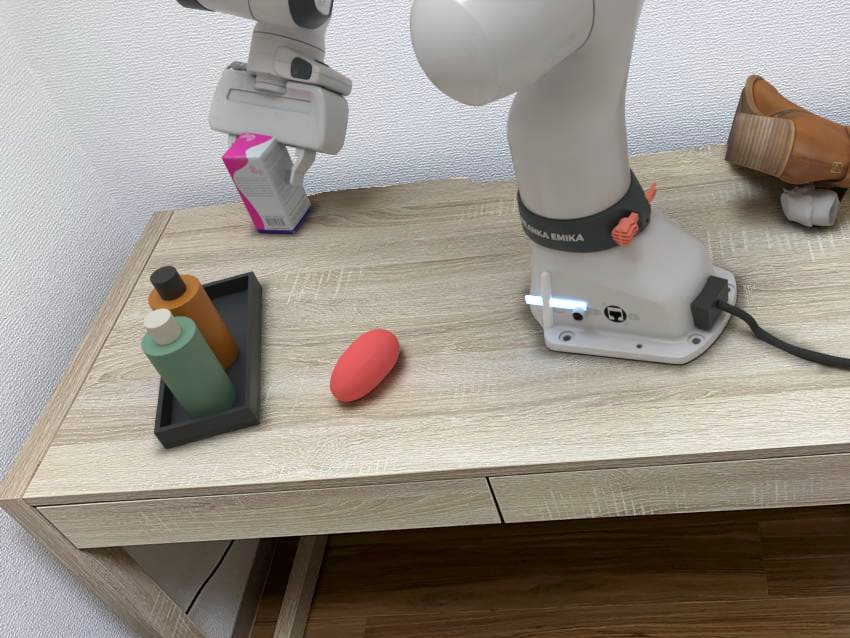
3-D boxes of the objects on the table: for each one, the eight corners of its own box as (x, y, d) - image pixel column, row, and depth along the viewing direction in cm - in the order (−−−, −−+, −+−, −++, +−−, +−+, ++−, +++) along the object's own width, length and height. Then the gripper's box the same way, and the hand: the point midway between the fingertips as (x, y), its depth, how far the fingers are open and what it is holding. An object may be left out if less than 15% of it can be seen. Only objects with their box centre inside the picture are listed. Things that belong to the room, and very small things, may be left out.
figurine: (847, 220, 101) (817, 240, 99) (791, 196, 106) (761, 215, 104) (849, 190, 98) (818, 210, 96) (791, 167, 103) (761, 186, 101)
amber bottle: (248, 347, 103) (200, 262, 94) (215, 381, 100) (162, 297, 91) (214, 335, 105) (163, 252, 96) (180, 368, 103) (125, 286, 93)
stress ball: (424, 378, 97) (408, 322, 95) (353, 408, 91) (336, 348, 90) (397, 377, 101) (381, 322, 99) (327, 405, 95) (310, 347, 94)
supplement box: (313, 206, 121) (281, 130, 113) (294, 234, 117) (259, 158, 109) (276, 205, 123) (241, 130, 114) (256, 233, 119) (218, 158, 111)
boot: (729, 130, 119) (873, 164, 116) (713, 197, 99) (887, 239, 97) (748, 60, 113) (900, 94, 111) (736, 115, 94) (920, 158, 92)
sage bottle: (247, 390, 98) (196, 305, 89) (212, 427, 95) (155, 344, 86) (211, 377, 101) (157, 293, 92) (176, 413, 98) (117, 330, 89)
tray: (180, 308, 111) (170, 292, 109) (261, 286, 111) (253, 270, 109) (165, 449, 95) (153, 433, 93) (259, 423, 95) (249, 407, 93)
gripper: (206, 52, 115) (188, 161, 117) (329, 69, 106) (307, 187, 108) (244, 66, 121) (226, 171, 123) (363, 84, 112) (342, 196, 114)
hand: (265, 179), depth 115 cm, fingers open, 8 cm apart
